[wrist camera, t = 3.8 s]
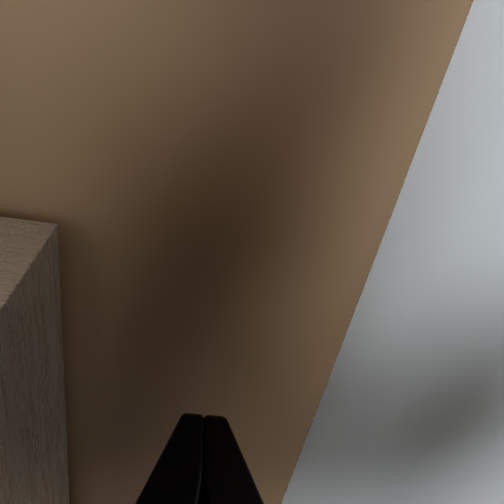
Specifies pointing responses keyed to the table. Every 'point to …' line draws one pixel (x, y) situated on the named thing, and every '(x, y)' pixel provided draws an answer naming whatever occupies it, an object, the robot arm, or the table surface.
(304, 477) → the table surface
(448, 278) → the table surface
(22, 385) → the bar
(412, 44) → the board
